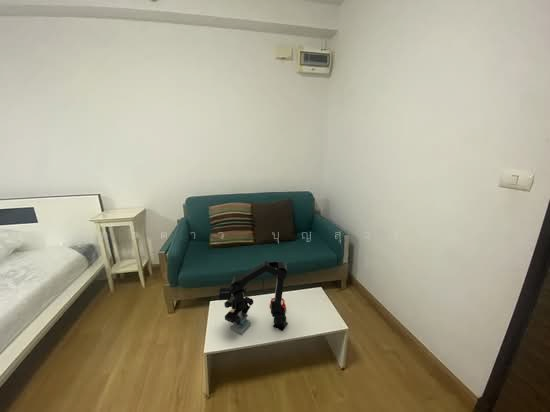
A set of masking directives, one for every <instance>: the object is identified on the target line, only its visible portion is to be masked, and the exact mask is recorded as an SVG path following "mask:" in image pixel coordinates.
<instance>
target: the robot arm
mask: <svg viewBox="0 0 550 412" xmlns="http://www.w3.org/2000/svg"><path fill="white" fill-rule="evenodd" d="M265 273H269V274H271V275H272V276H276V283H275V291H274V298H275V299H274V301H271V300H270V302H271V303H270V304H271V309H270V314H271V316H272V318H273V328H274V329H277V330H279V331H281V332H283V331H284V330H285V328H286V327H287V326H288V322H287V315H286V311H285V308H284V307H282V306H281V300H282V298H283V289H284V284H285V283H284V282H285V281H286V278H287V275H288V269H287V264H286V263H285V262H282V261H280V262H279V261H264V262H263V263H261V264H259V265H258V266H256V267H254V268H252V269H251V270H250V271H248V272H246V273H240V274H236V275H235V276H234V277H233V279H232V281H231V283H230V285H229V287H219V291H218V292H219V293H218V294H219V295H218V300H219V301H225V302H224V307H225V309H229V308H231V309H235V310H234V312H231V311H230V310H229V311H230V312H229V311H228V312H227V313H226V314H225V315H224V320H225V321H227V322H229V323H231V324H234V322H236V324H237V325H239V321H240V316H238V313H240V312H241V311H242V312H243V313H245V314H247V315H248V312H249V310H250V308H251V306H253V304H254V299H253V298H251V297H249V296H245V293H247V290H248V287H246V286H247V284H248V283H249V282H251V281H253V280H254V279H256V278H258V277H260V276H262V275H263V274H265Z"/></svg>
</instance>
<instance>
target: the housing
mask: <svg viewBox="0 0 550 412" xmlns="http://www.w3.org/2000/svg"><path fill="white" fill-rule="evenodd" d="M238 316H240V321H239V325H238V326H240V327H242V328H243V327H244V326H245V325H246V324H247V323H248V321H249V320H248V318H247V317H249V315H248V313H247V314H245V313H243V312H240V313H238ZM233 324H236V322H234V323H233ZM236 325H237V324H236Z"/></svg>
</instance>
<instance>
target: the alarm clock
mask: <svg viewBox="0 0 550 412" xmlns="http://www.w3.org/2000/svg"><path fill="white" fill-rule="evenodd" d="M270 299H271V300H270V303H269V309H270V310H271V301H274V299H275V297H273V298H270ZM285 303H286V302H285V299H284V298H283V297H282V300H281V306H282V307H284V308H285V312H286V311H287V307H286V304H285Z"/></svg>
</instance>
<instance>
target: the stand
mask: <svg viewBox="0 0 550 412" xmlns="http://www.w3.org/2000/svg"><path fill="white" fill-rule="evenodd" d="M251 323H252V322H250V321H249V320H248V323H247V324H246V325H245V326H244V327H243V328H242V327H240V326H238V325H236V324H234V323H232V324H231V325H230V330H231V331H233V332H235V333H237V334H238V335H240V336H243V335H244V334H245V333H246V332H247V330H248V329H249V328H250V327H251Z"/></svg>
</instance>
